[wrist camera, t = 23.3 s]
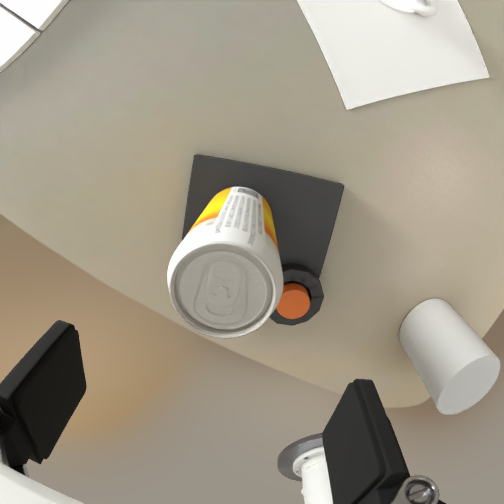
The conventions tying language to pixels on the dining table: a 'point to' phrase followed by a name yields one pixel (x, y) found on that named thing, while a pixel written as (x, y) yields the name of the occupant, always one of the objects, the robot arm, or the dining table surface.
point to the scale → (277, 216)
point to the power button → (293, 301)
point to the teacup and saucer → (424, 10)
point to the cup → (448, 356)
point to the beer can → (228, 267)
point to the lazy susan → (23, 25)
